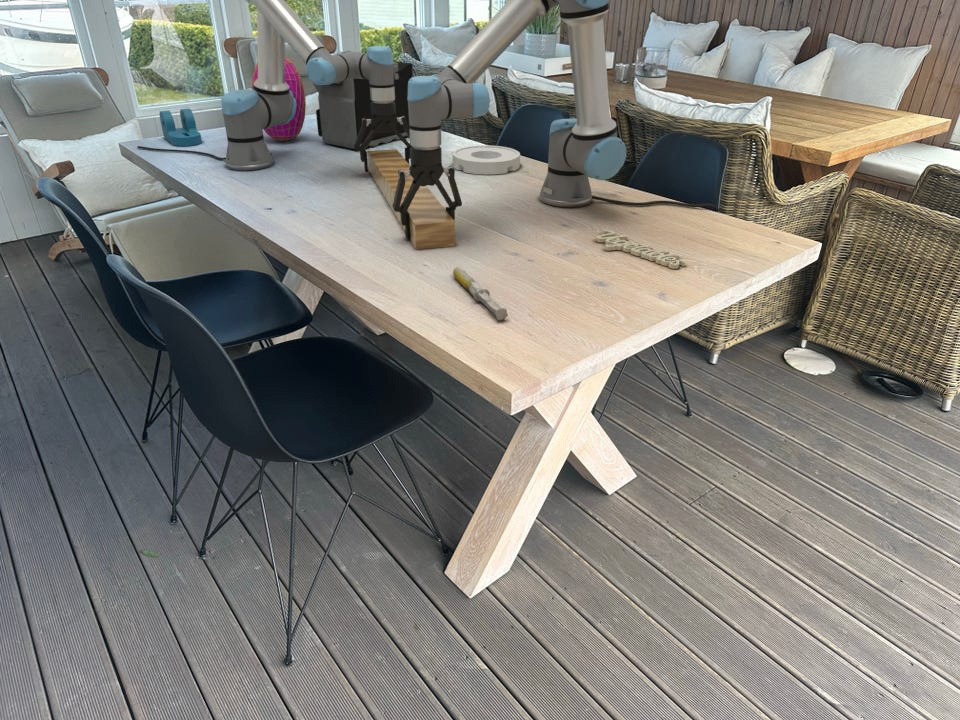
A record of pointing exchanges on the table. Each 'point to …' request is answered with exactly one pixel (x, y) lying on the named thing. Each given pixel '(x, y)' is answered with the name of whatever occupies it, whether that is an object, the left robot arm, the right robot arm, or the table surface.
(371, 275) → the table surface
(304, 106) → the decorative egg
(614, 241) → the decorative sign
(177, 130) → the camera mount
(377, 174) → the wooden beam
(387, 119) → the left robot arm
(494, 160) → the ashtray
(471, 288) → the syringe
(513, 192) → the table surface
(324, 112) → the electronic device
